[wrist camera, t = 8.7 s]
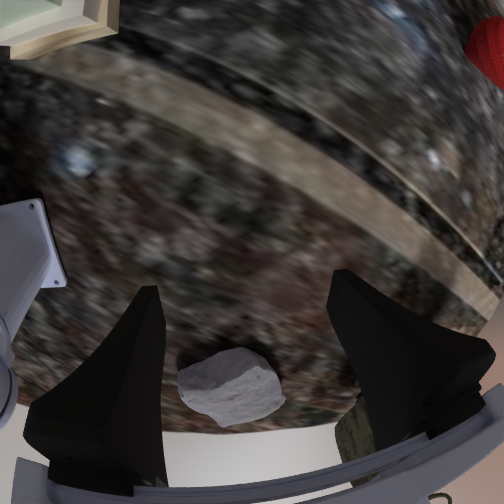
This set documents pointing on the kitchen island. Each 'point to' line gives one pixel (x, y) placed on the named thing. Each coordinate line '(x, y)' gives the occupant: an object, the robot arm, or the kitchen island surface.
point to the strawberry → (488, 49)
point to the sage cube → (24, 9)
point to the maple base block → (72, 34)
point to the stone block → (231, 387)
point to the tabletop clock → (360, 440)
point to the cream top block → (51, 22)
